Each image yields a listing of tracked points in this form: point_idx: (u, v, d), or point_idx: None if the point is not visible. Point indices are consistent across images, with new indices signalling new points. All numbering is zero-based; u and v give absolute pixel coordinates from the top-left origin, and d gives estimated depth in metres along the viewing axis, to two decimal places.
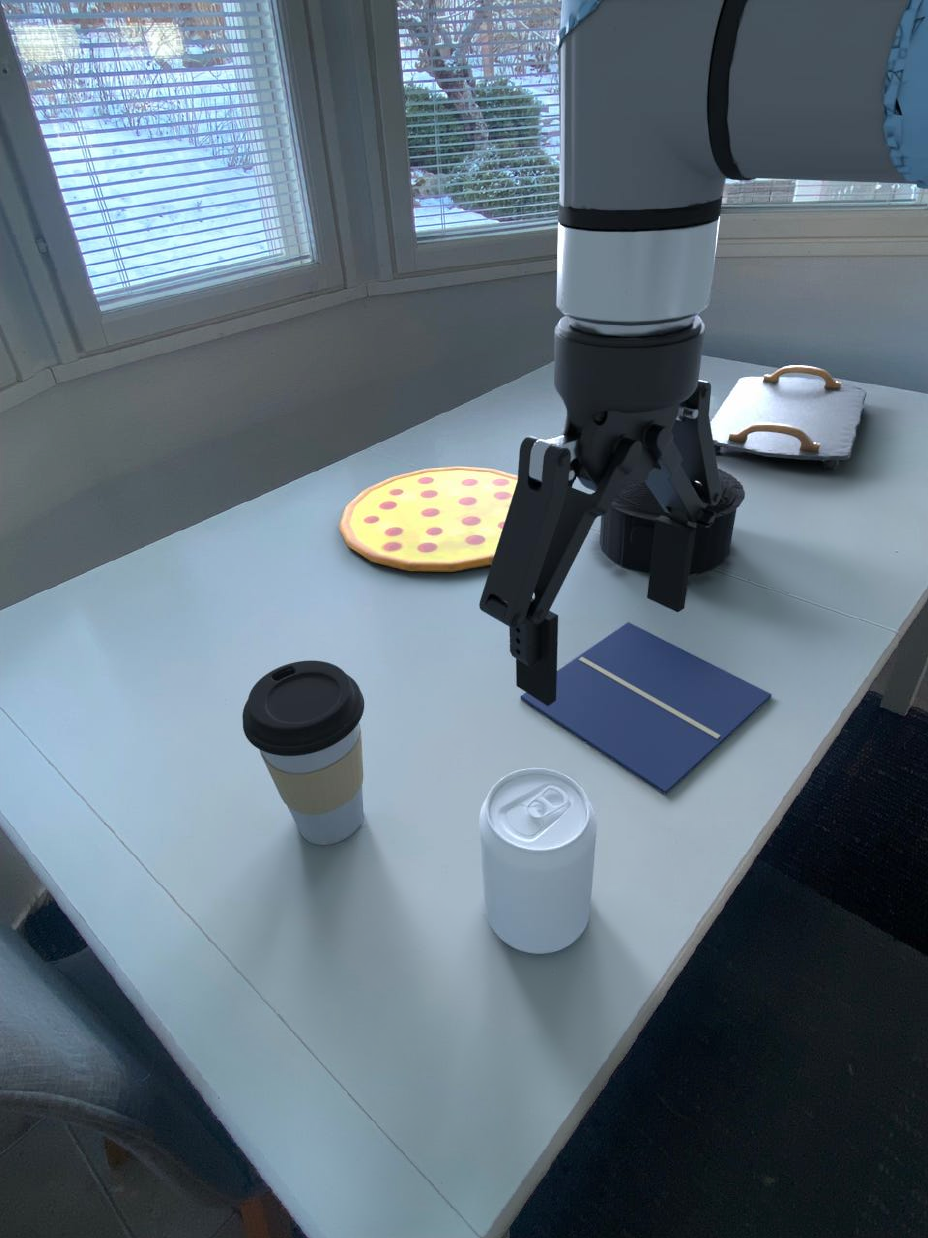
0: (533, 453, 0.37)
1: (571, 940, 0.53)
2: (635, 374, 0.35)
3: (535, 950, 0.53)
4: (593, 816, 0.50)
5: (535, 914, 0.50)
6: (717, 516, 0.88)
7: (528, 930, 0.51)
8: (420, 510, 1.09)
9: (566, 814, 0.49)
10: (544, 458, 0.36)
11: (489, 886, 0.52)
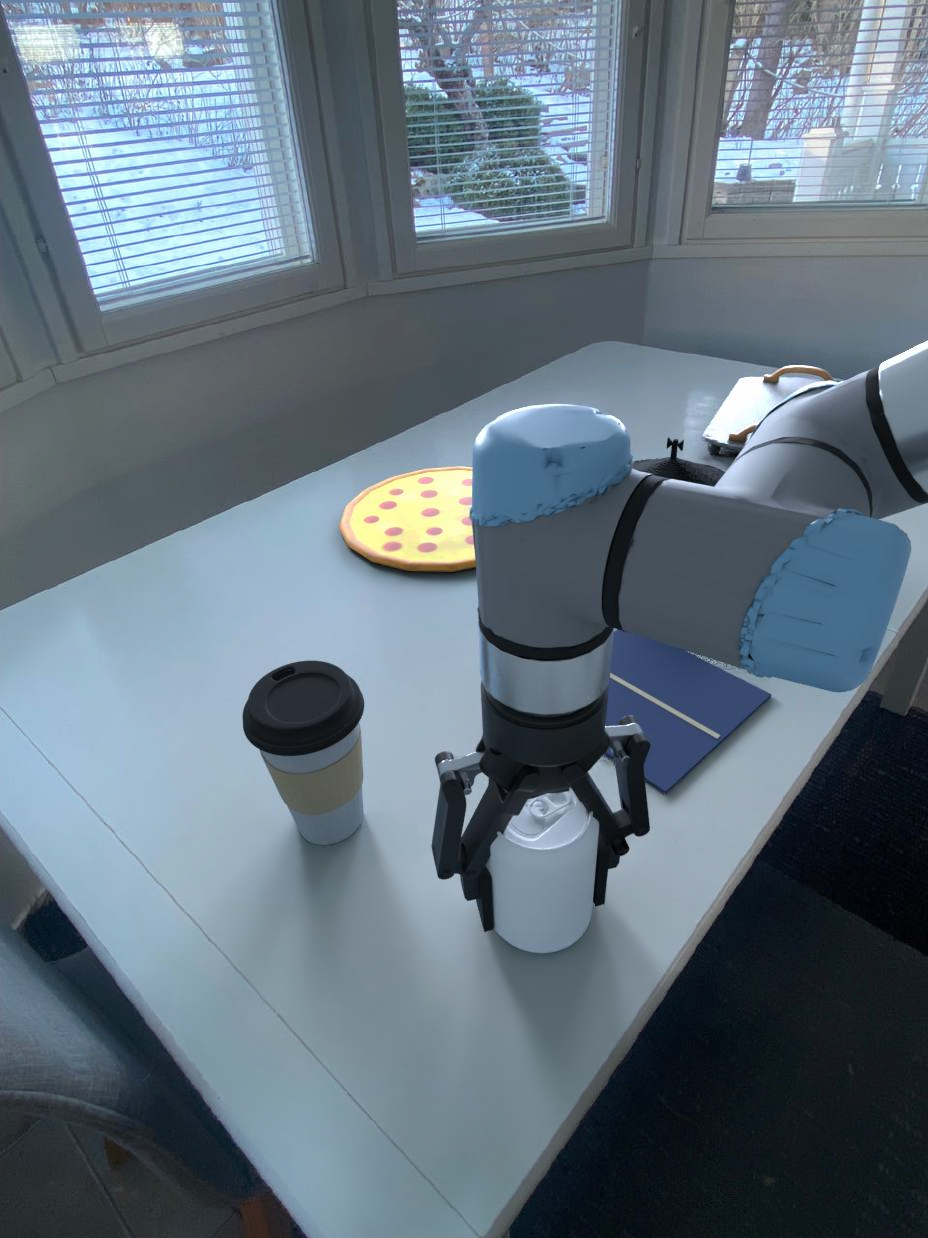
0: None
1: (573, 939, 0.53)
2: (511, 739, 0.41)
3: (537, 949, 0.53)
4: None
5: (537, 913, 0.50)
6: None
7: (530, 929, 0.51)
8: (420, 510, 1.09)
9: (569, 813, 0.49)
10: (440, 780, 0.45)
11: None
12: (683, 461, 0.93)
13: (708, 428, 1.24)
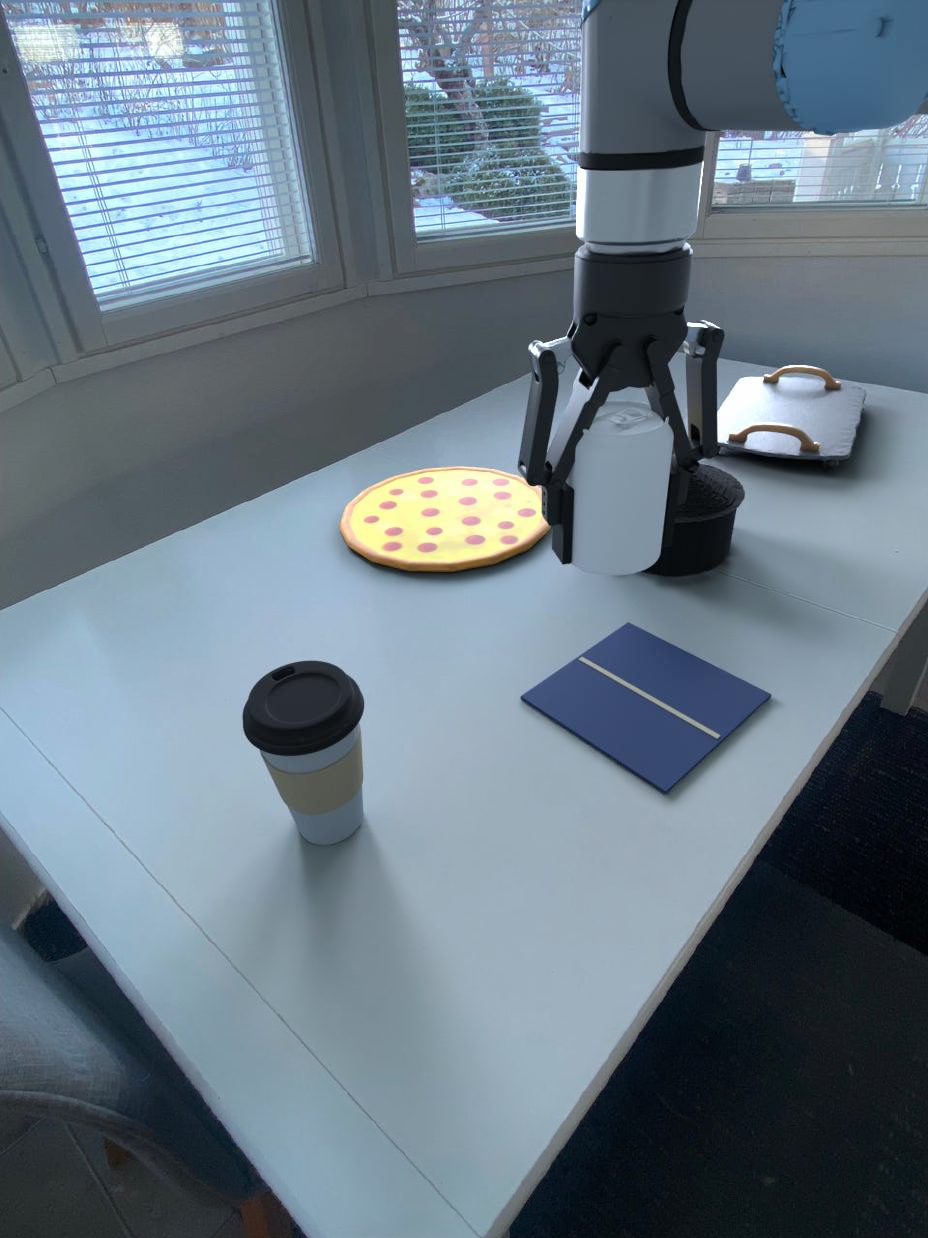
0: (532, 354, 0.50)
1: (646, 562, 0.57)
2: (607, 285, 0.46)
3: (613, 570, 0.57)
4: None
5: (617, 517, 0.54)
6: (717, 516, 0.88)
7: (609, 542, 0.56)
8: (420, 510, 1.09)
9: (646, 420, 0.54)
10: (535, 358, 0.49)
11: None
12: None
13: None
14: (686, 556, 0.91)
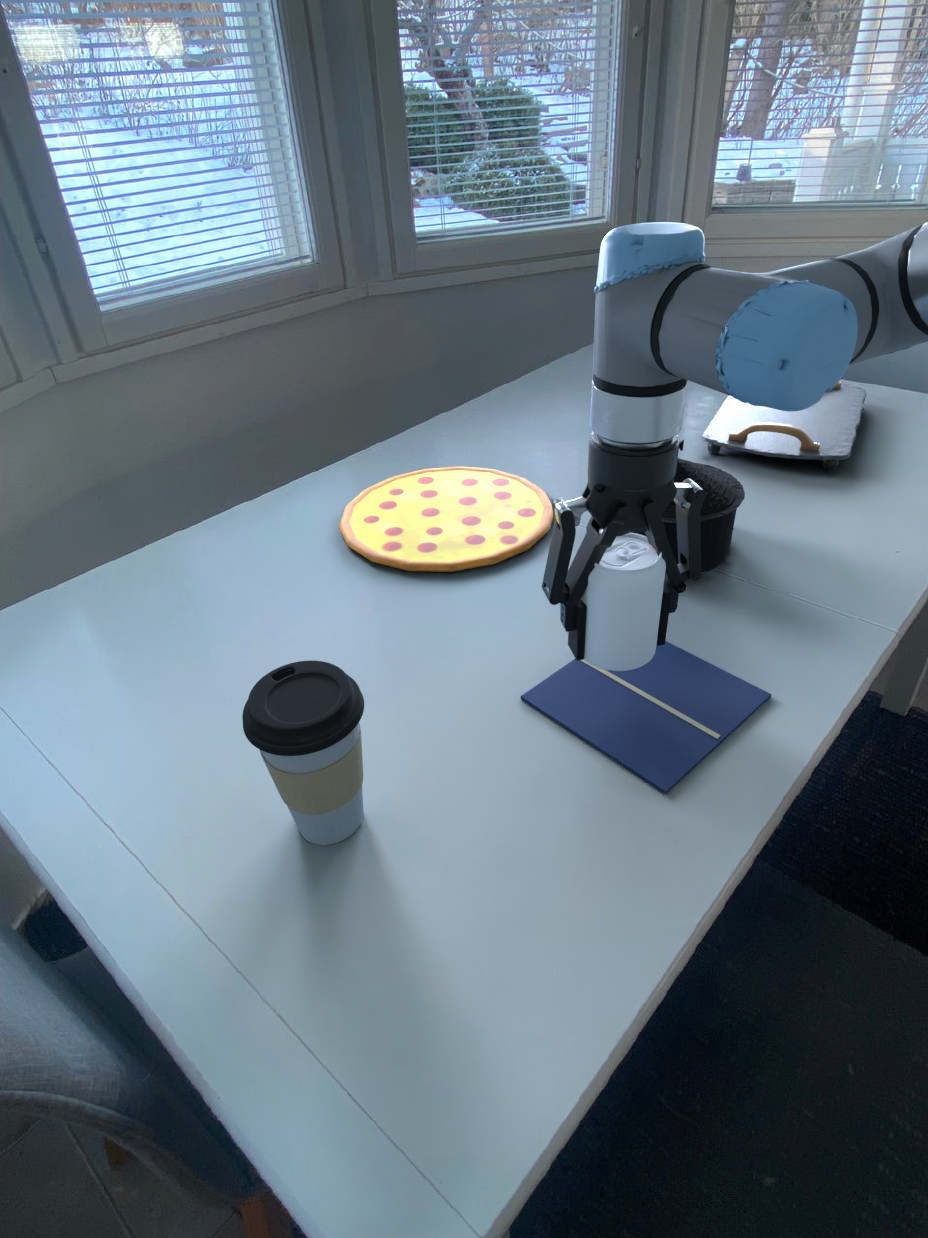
0: (555, 510, 0.64)
1: (643, 661, 0.72)
2: (614, 469, 0.60)
3: (617, 667, 0.71)
4: None
5: (621, 629, 0.69)
6: (717, 516, 0.88)
7: (614, 646, 0.70)
8: (420, 510, 1.09)
9: (644, 554, 0.68)
10: (558, 514, 0.64)
11: None
12: (683, 461, 0.93)
13: (708, 428, 1.24)
14: None
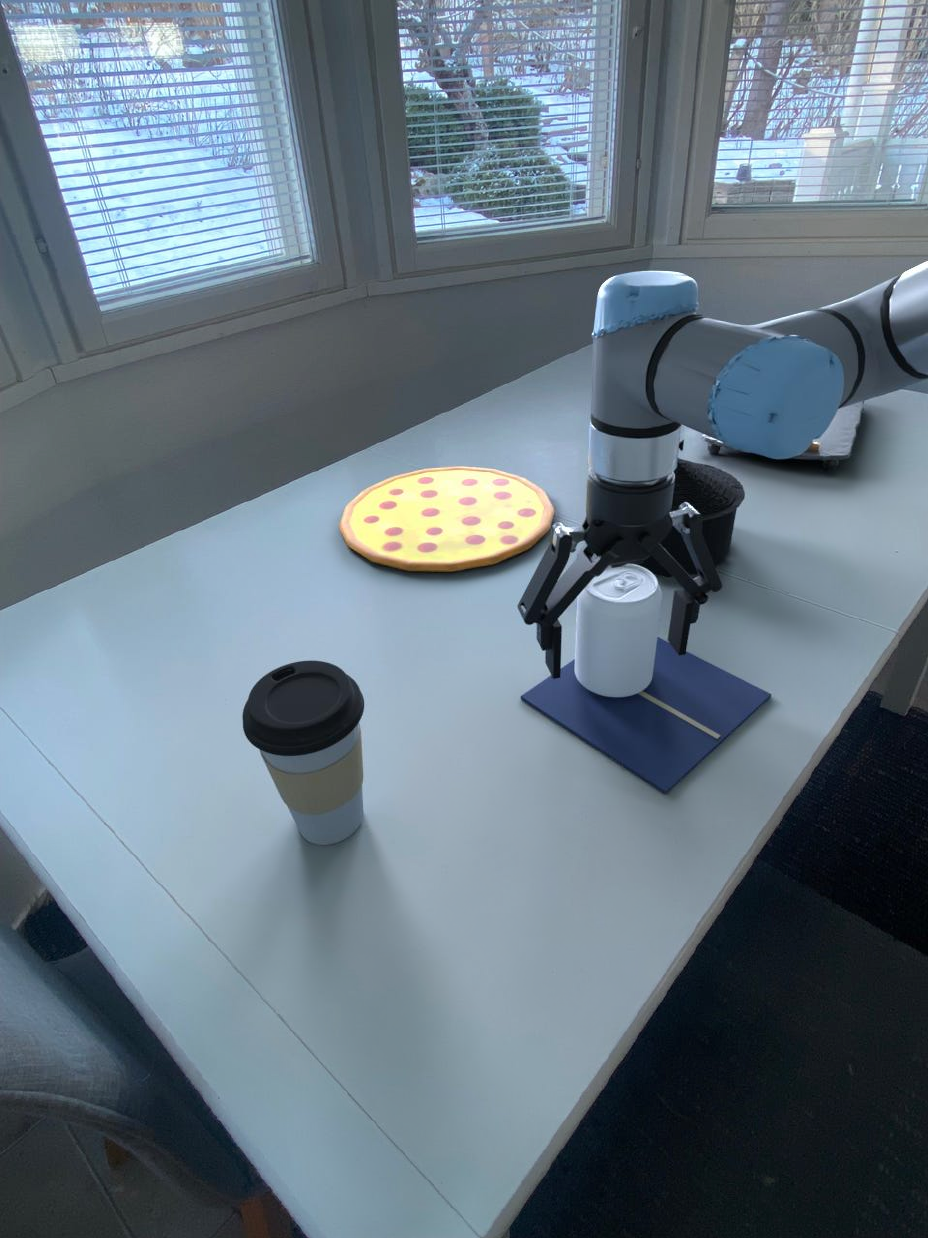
0: (554, 532, 0.66)
1: (640, 687, 0.74)
2: (611, 505, 0.62)
3: (615, 693, 0.73)
4: (659, 588, 0.71)
5: (618, 658, 0.71)
6: (717, 516, 0.88)
7: (611, 674, 0.72)
8: (420, 510, 1.09)
9: (641, 585, 0.70)
10: (557, 537, 0.65)
11: (583, 644, 0.72)
12: (683, 461, 0.93)
13: None
14: (686, 556, 0.91)
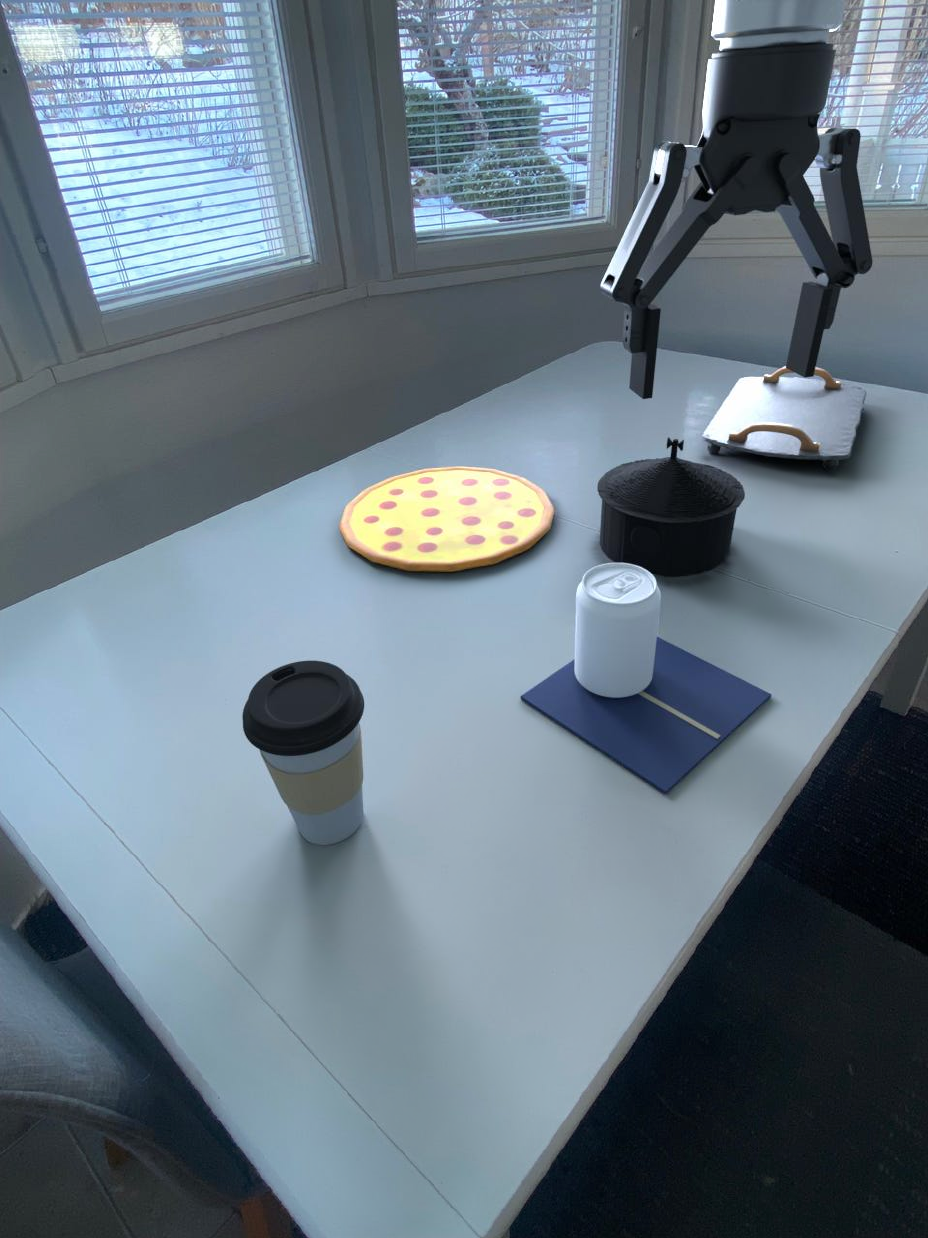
0: (660, 151, 0.48)
1: (640, 687, 0.74)
2: (749, 81, 0.44)
3: (615, 694, 0.73)
4: (658, 589, 0.70)
5: (618, 659, 0.71)
6: (717, 516, 0.88)
7: (611, 675, 0.72)
8: (420, 510, 1.09)
9: (640, 586, 0.70)
10: (665, 153, 0.47)
11: (583, 645, 0.72)
12: (683, 461, 0.93)
13: (708, 428, 1.24)
14: (686, 556, 0.91)
